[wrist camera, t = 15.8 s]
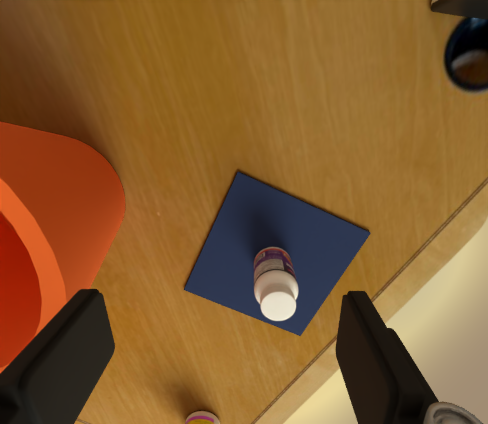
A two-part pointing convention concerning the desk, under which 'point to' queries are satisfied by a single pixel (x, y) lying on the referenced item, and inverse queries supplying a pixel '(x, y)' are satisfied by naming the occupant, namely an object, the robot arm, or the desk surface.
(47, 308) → the flowerpot
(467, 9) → the battery charger
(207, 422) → the supplement bottle
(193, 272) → the mat
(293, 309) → the pill bottle
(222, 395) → the desk surface
